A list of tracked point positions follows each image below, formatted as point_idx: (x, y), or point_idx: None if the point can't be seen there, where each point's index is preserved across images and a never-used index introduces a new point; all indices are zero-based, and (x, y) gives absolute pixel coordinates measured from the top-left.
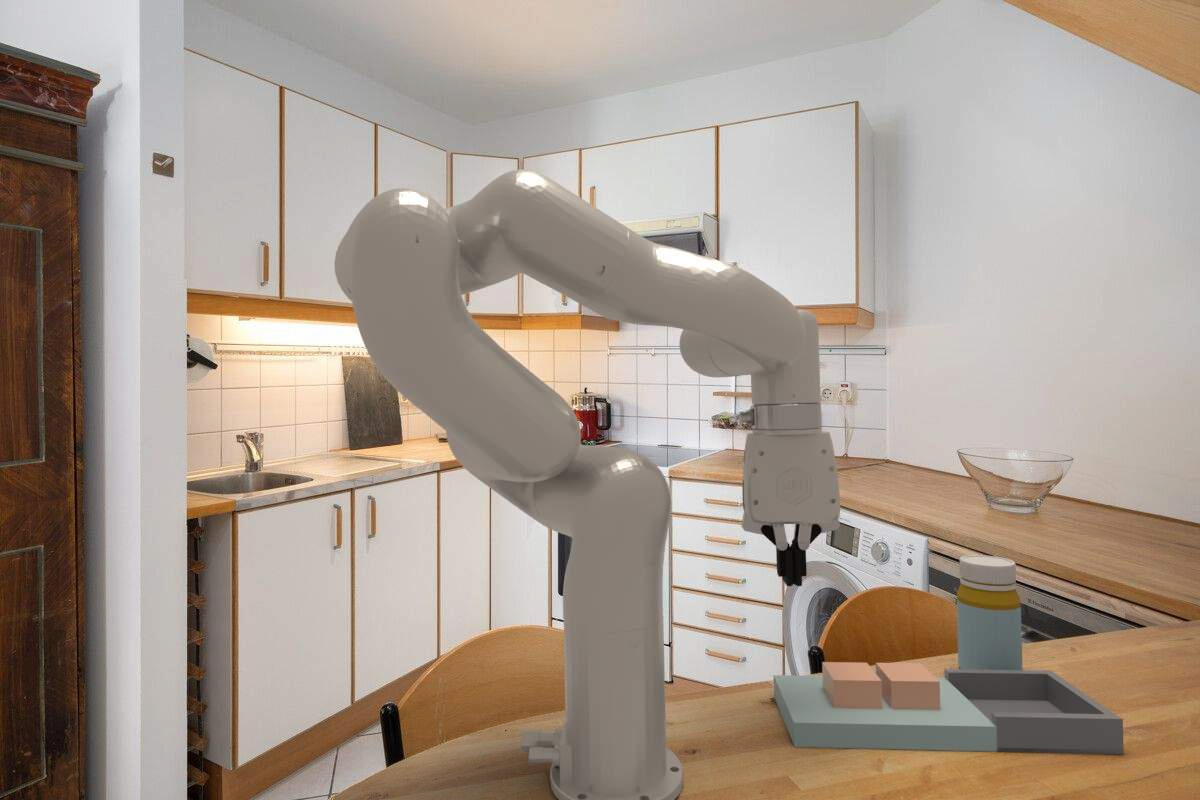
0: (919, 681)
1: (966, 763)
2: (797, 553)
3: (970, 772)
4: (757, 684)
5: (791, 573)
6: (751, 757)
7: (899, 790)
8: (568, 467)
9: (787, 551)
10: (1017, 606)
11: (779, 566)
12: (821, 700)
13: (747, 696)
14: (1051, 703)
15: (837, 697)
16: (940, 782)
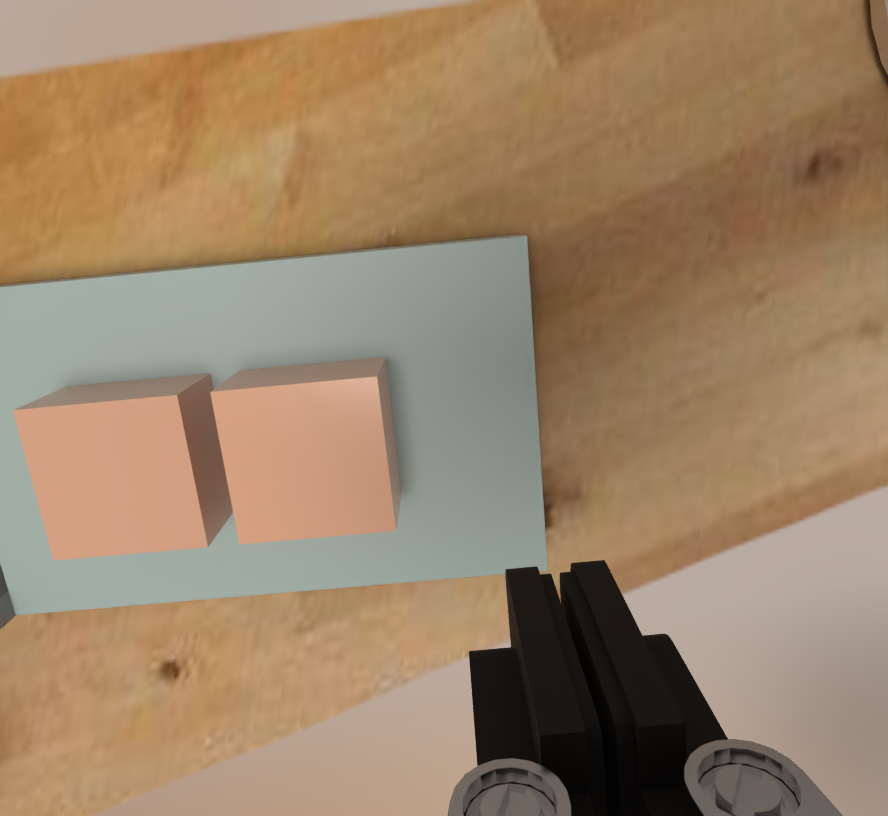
0: (80, 403)
1: (64, 211)
2: (571, 710)
3: (63, 162)
4: None
5: (592, 602)
6: (649, 156)
7: (267, 33)
8: None
9: (675, 717)
10: None
11: (687, 670)
12: (418, 405)
13: (617, 527)
14: None
15: (372, 364)
16: (151, 95)
